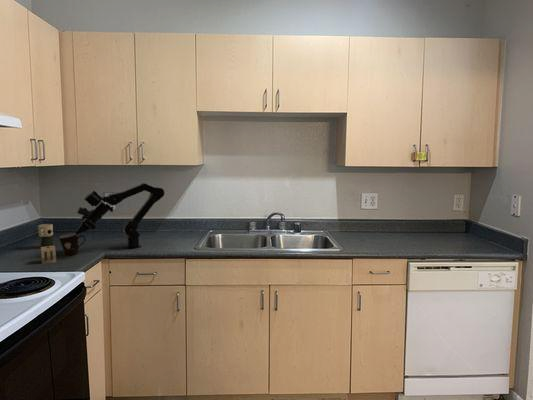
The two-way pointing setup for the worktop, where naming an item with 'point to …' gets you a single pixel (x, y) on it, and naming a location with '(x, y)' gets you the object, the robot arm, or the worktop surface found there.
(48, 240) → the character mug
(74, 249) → the coffee mug
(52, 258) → the numbered maple block
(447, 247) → the worktop surface
